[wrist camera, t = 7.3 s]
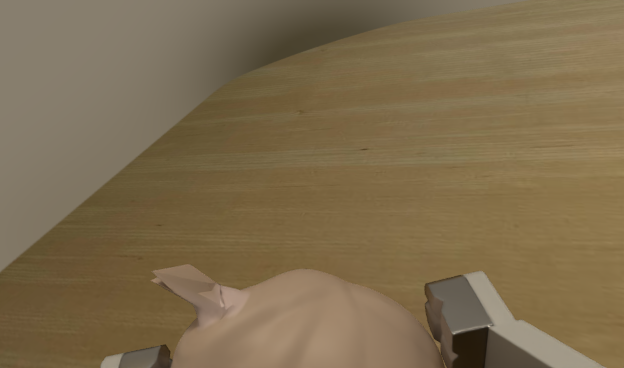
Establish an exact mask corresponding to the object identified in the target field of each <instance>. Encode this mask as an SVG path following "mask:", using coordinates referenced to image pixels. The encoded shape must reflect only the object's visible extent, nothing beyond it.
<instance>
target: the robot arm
mask: <svg viewBox="0 0 624 368" xmlns="http://www.w3.org/2000/svg"><path fill="white" fill-rule="evenodd" d="M425 295H426V297H427V299H428V301H427V302H426V303H425V311H426V316H427V321H428V324H429V327H430V330H431V332H432V335H433V337H434V339H435V340H437V341H438V342H440V343H441V355H442V358H443V360H444V362H445V364H446V367H447V368H606V367H604V366H602V365H600V364H599V363H597V362H595V361H593V360H592V359H590V358H588V357H586V356H585V355H583V354H581V353H579V352H578V351H576V350H574V349H572V348H571V347H569V346H567V345H565V344H564V343H562V342H560V341H558V340H557V339H555V338H553V337H551V336H550V335H548V334H546V333H544V332H543V331H541V330H539V329H537V328H536V327H534V326H532V325H530V324H529V323H527V322H525V321H523V320H517V321H516V320H515V318H514V317H513V315H512V314H511V312H510V311H509V309H508V308H507V306H506V305H505V303H504V302H503V300H502V299H501V297H500V296H499V294H498V292H497V291H496V289H495V288H494V286H493V285H492V283H491V282H490V280H489V279H488V277H487V276H486V274H485V273H484V272H482V271H477V272H473V273H469V274H465V275H458V276H454V277H450V278H446V279H442V280H438V281H434V282H430V283H426V284H425ZM171 364H172V359H170V350H169V349H168V347H167V346H166V345H160V346H156V347H151V348H146V349H141V350H136V351H131V352H126V353H121V354H117V355H112V356H108V357H106V358H105V359H104V360H103V362H102V363H101V366H100V368H171Z"/></svg>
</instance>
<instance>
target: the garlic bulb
mask: <svg viewBox="0 0 624 368" xmlns="http://www.w3.org/2000/svg"><path fill="white" fill-rule="evenodd" d="M152 272H153V273H154V274H155V275H156V276H157V277H158V278H156V279H153V280H151V281H152V282H154V283H156V284H158V285H159V286H161V287H163V288H165V289H166V290H168V291H170V292H172V293H174V294H175V295H177V296H179V297H181V298H182V299H184V300H186V301H188V302H189V303H191V304H193V305H194V308H195V311H196V314H197V317H198V318H196V319H195V320H194V321H193V322H192V324H191V325H190V326H189V327H188V329H187V330H186V331H185V333H184V334H183V336H182V338H181V339H180V341H179V343H178V345H177V347H176V350H175V353H174V356H173V360H172V364H171V368H445V366H444V362H443V359H442V357H441V354H440V352H439V349H438V348H437V346H436V344H435V342H434V341H433V339H432V338H431V336H430V335H429V333H428V332H427V331H426V329H425V328H424V327H423V326H422V325H421V323H420V322H419V321H418V320H417V319H416V318H415V317H414V316H413V315H412V314H411V313H410V312H409V311H408V310H406V309H405V308H404V307H403V306H401V305H400V304H398V303H397V302H395V301H394V300H392V299H390V298H388V297H387V296H385V295H383V294H381V293H379V292H377V291H375V290H372V289H370V288H367V287H364V286H360V285H356V284H353V283H349V282H346V281H344V280H342V279H340V278H338V277H336V276H333V275H330V274H327V273H324V272H321V271H317V270H311V269H297V270H292V271H288V272H285V273H283V274H280V275H277V276H275V277H273V278H271V279H269V280H266V281H264V282H262V283H260V284H257V285H254V286H251V287H248V288H245V289H242V290H238V289H234V288H230V287H225V286H221V285H220V284H218V283H216V282H214V281H213V280H212V279H210V278H209V277H207V276H206V275H204V274H203V273H201V272H200V271H199V270H197V269H196V268H194V267H193V266H191V265H190V264H188V265H182V266H177V267H172V268H166V269H161V270H155V271H152Z"/></svg>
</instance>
